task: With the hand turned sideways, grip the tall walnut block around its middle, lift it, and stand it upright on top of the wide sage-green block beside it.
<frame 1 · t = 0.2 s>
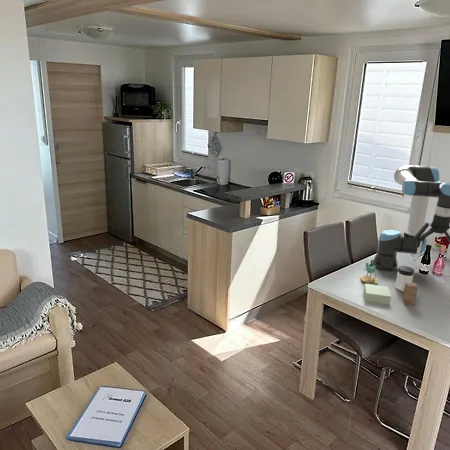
hand: (432, 255, 206), 27 cm above the table, fingers open, 13 cm apart
jar: (402, 288, 232), on the table
sage block: (376, 298, 219), on the table
multicoloured irregular piece: (368, 282, 238), on the table
walnut block: (408, 302, 216), on the table
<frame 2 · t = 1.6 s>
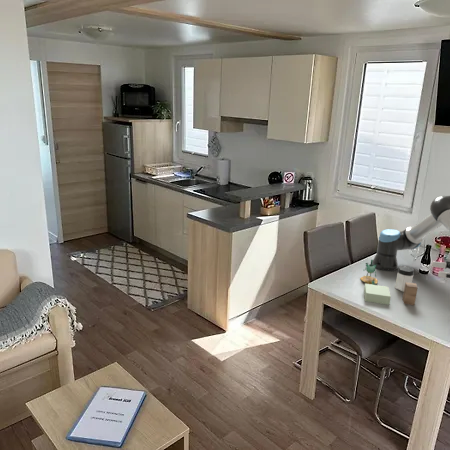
hand: (435, 268, 208), 20 cm above the table, fingers open, 13 cm apart
nothing on the table moved.
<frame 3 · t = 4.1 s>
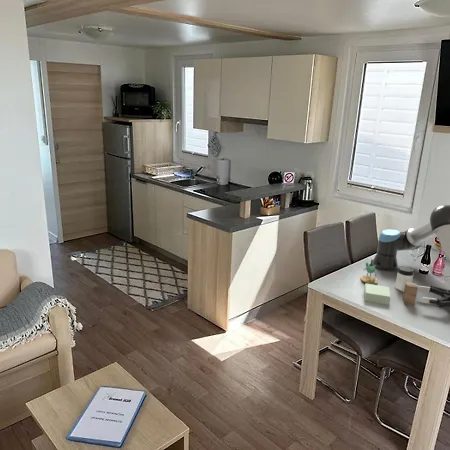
hand: (419, 293, 213), 6 cm above the table, fingers open, 13 cm apart
nothing on the table moved.
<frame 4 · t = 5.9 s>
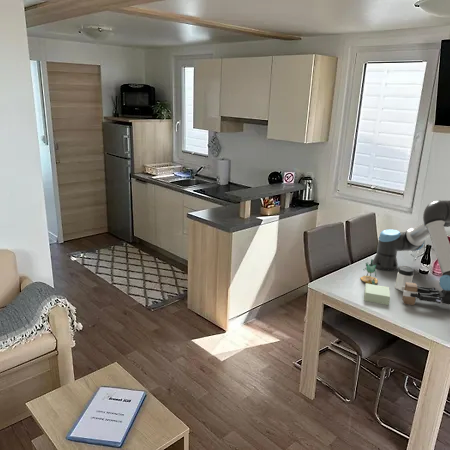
hand: (402, 290, 215), 6 cm above the table, fingers closed on walnut block, 5 cm apart
walnut block: (408, 302, 216), on the table, touching gripper
everything else where it was.
when the fingers open (11 cm above the table, at t = 11.2 s): walnut block stays where it is, resting on sage block.
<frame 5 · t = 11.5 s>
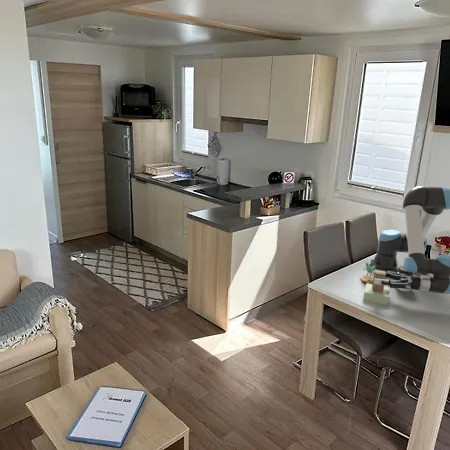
hand: (373, 277, 217), 11 cm above the table, fingers open, 9 cm apart
sage block: (376, 298, 219), on the table, touching walnut block
walnut block: (377, 289, 218), point 5 cm above the table, touching sage block
everything else where it was.
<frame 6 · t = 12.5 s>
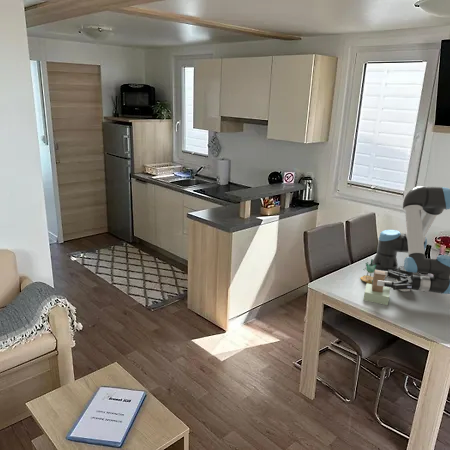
hand: (375, 277, 216), 11 cm above the table, fingers open, 13 cm apart
sage block: (376, 298, 219), on the table
walnut block: (377, 289, 218), point 5 cm above the table
everything else where it was.
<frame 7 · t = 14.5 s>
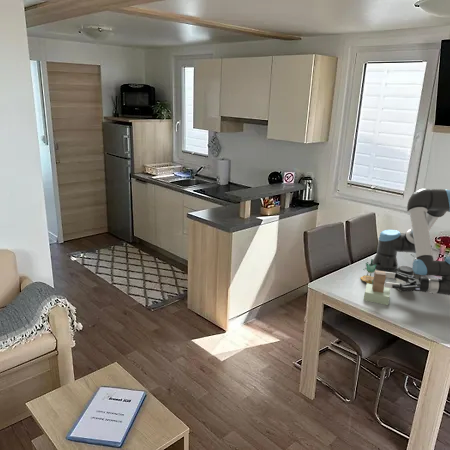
hand: (383, 279, 214), 12 cm above the table, fingers open, 13 cm apart
sage block: (376, 298, 219), on the table, touching walnut block
walnut block: (377, 290, 218), point 5 cm above the table, touching sage block
everything else where it was.
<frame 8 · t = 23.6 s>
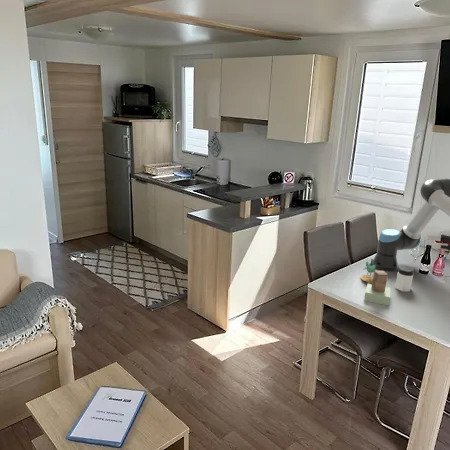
hand: (430, 241, 212), 32 cm above the table, fingers open, 13 cm apart
sage block: (376, 298, 219), on the table
walnut block: (377, 290, 218), point 5 cm above the table
at the end: walnut block inside the target area on the sage block (0.2 cm from its centre), point 5.1 cm above the sage block's base; walnut block tilted 1°; the gripper is holding nothing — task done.
